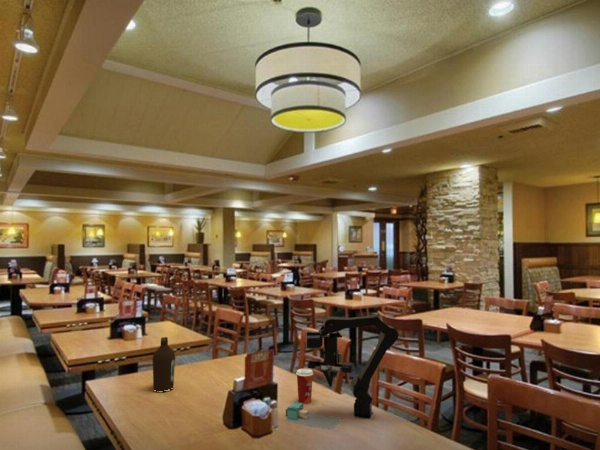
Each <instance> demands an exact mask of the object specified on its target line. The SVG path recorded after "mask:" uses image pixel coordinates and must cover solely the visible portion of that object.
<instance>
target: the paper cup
mask: <svg viewBox="0 0 600 450" xmlns="http://www.w3.org/2000/svg"><path fill="white" fill-rule="evenodd" d="M295 374H296V379H297V380H296V381H297V398H298V400H297V401H298V403H303V405H307V404H311V402H312V395H313V394H312V393H313V392H312V391H313V377H314V371H313V370H312V368H299V369H297V371H296V373H295Z"/></svg>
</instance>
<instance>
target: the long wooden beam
mask: <svg viewBox="0 0 600 450" xmlns="http://www.w3.org/2000/svg"><path fill="white" fill-rule="evenodd" d="M309 413H310V412H309V410H307V409H303V410H301V409H299V410H298V418H299V419H305V420H306V419H307V418H308V417H309ZM285 417H287V408H286V409H285Z"/></svg>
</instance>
